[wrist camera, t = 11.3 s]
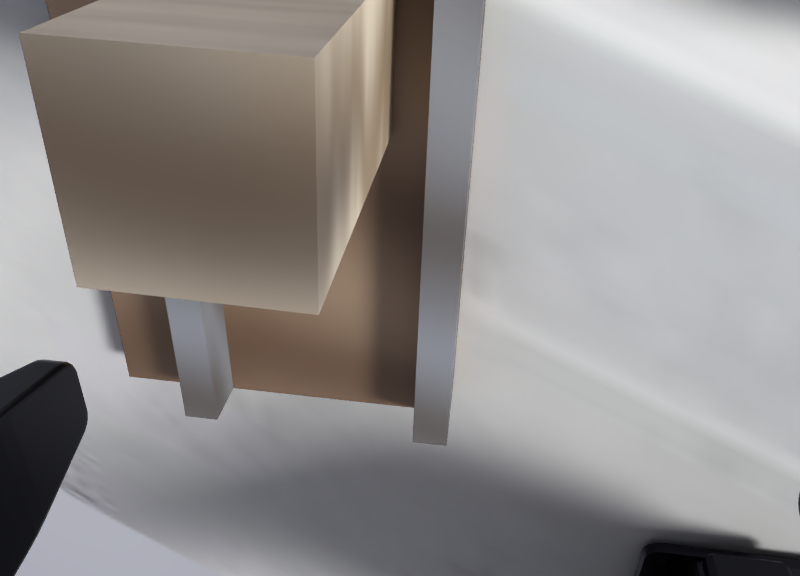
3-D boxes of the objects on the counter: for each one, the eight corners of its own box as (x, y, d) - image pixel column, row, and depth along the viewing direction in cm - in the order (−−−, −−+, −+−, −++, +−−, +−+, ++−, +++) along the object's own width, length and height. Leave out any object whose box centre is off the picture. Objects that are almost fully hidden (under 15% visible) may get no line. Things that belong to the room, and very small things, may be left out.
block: (391, 135, 18) (319, 315, 11) (235, 121, 18) (77, 287, 12) (398, -38, 16) (313, 57, 9) (222, -51, 16) (18, 32, 10)
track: (452, 391, 24) (446, 445, 21) (142, 357, 25) (108, 406, 22) (495, -122, 16) (493, -115, 14) (40, -139, 17) (-28, -135, 15)
